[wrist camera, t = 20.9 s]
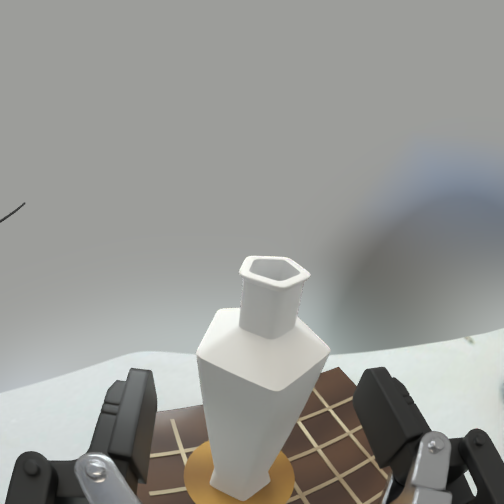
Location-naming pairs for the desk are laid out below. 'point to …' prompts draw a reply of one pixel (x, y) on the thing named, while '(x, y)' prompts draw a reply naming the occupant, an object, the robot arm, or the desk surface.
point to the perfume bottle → (257, 374)
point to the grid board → (286, 463)
